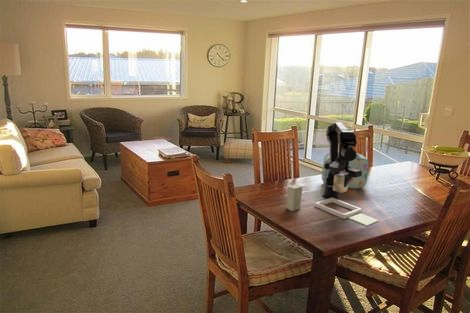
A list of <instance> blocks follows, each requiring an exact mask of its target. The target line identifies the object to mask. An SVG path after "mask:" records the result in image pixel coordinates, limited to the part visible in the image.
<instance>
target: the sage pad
mask: <svg viewBox="0 0 470 313" xmlns="http://www.w3.org/2000/svg"><path fill="white" fill-rule="evenodd" d="M347 219H349V220H352V221H354V222H356V223H358V224H361V225H362V226H366V227H368V226H370V225H373V224H375V223H378V222H379V221H380V220H379V219H377V218H375V217H372V216H370V215H369V216H368V215H367V214H364V213H362V212H361V213H359V214H356V215H353V216H351V217H348V218H347Z"/></svg>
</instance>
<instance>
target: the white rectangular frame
mask: <svg viewBox="0 0 470 313" xmlns="http://www.w3.org/2000/svg"><path fill="white" fill-rule="evenodd" d="M330 203H334V204H336V205H338V206H341V207H344V208H347V209H349V210H350V211H348V212H345V213H343V212H341V211H338V210H336V209H334V208H331V207H329V206H326V205H328V204H330ZM314 207H315V208H318V209H320V210H322V211H325V212H327V213H329V214H332V215H333V216H336V217H339V218H341V219H344V220H346V219H348V218H349V217H351V216H354V215H357V214H359V213H362V212H363V208H361V207H358V206H355V205H353V204H351V203H347V202H346V201H343V200H340V199H338V198H337V199H335V198H329V199H328V198H326V199H322V200H320V201H316V202H314Z"/></svg>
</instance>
